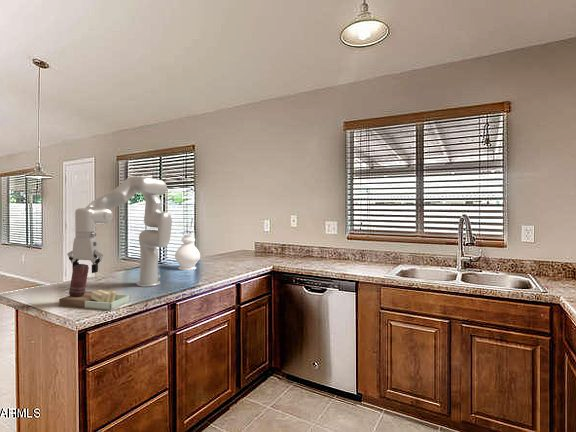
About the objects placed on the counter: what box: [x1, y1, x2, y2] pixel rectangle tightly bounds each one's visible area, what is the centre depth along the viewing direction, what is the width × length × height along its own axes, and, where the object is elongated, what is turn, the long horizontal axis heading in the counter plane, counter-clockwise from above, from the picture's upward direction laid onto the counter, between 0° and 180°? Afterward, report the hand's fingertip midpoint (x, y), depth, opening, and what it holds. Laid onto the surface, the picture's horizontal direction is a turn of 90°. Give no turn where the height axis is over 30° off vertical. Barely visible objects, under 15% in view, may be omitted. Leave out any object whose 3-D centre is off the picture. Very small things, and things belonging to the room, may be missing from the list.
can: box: [68, 263, 90, 297], centre depth 154 cm, size 6×6×14 cm
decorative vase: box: [174, 233, 201, 271], centre depth 244 cm, size 18×18×25 cm
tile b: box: [101, 289, 117, 303], centre depth 153 cm, size 5×5×3 cm
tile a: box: [91, 289, 106, 302], centre depth 153 cm, size 5×5×3 cm
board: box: [58, 291, 98, 309], centre depth 155 cm, size 14×12×3 cm
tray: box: [84, 293, 131, 311], centre depth 153 cm, size 14×12×3 cm
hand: (85, 271), depth 155 cm, fingers open, 9 cm apart
